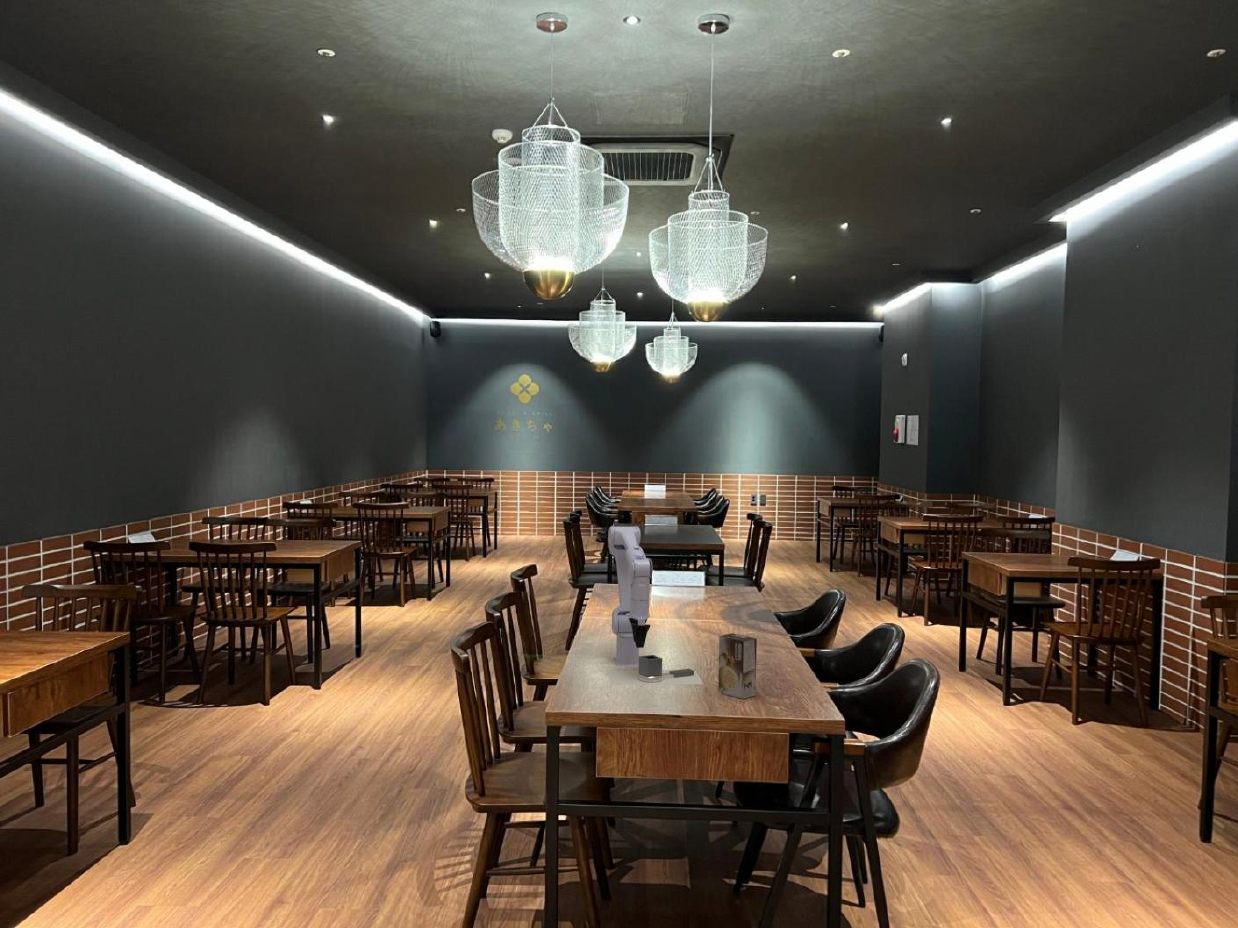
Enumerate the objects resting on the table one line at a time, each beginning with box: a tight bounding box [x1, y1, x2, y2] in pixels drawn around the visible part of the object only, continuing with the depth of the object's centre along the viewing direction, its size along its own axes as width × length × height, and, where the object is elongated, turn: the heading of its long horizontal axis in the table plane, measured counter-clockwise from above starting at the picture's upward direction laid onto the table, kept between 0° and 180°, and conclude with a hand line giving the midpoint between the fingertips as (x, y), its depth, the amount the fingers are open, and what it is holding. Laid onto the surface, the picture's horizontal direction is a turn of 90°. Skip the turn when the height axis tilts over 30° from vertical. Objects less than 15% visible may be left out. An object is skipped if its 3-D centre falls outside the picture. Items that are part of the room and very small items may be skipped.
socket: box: [638, 654, 663, 677], centre depth 255 cm, size 5×5×5 cm
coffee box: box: [717, 633, 758, 700], centre depth 244 cm, size 9×6×16 cm
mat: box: [606, 669, 705, 685], centre depth 259 cm, size 16×27×1 cm, turn 94°
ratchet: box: [638, 668, 694, 683], centre depth 258 cm, size 7×18×5 cm, turn 119°
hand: (638, 644), depth 261 cm, fingers open, 7 cm apart
